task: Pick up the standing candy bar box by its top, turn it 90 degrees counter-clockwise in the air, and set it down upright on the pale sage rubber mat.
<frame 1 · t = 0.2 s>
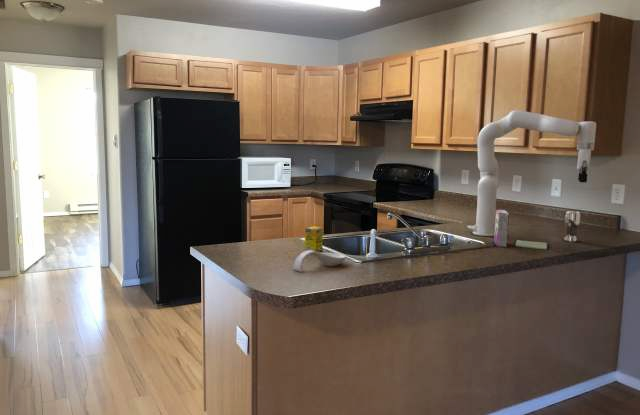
hand: (582, 181, 254), 31 cm above the counter, tool pointing down, fingers open, 9 cm apart
supplement box: (313, 252, 228), on the counter
candy bar box: (500, 245, 251), on the counter
mat: (531, 245, 251), on the counter
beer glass: (570, 241, 263), on the counter
spoon rest: (320, 267, 203), on the counter
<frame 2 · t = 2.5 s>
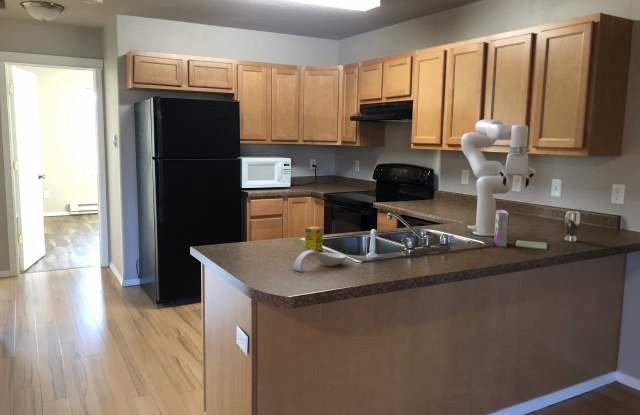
hand: (515, 186, 248), 29 cm above the counter, tool pointing down, fingers open, 9 cm apart
nothing on the counter moved.
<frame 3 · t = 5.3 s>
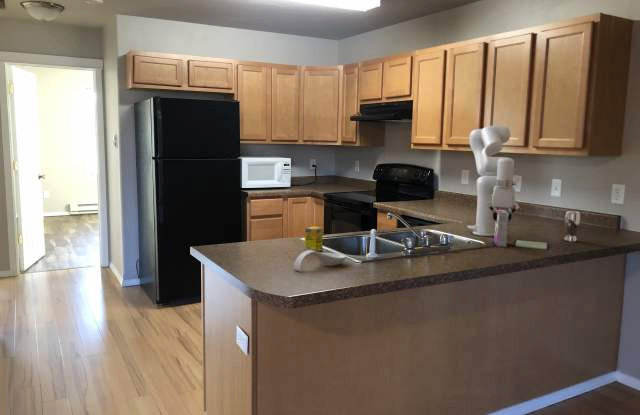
hand: (501, 220, 249), 12 cm above the counter, tool pointing down, fingers closed on candy bar box, 5 cm apart
candy bar box: (500, 245, 251), on the counter, touching gripper
everything else where it was.
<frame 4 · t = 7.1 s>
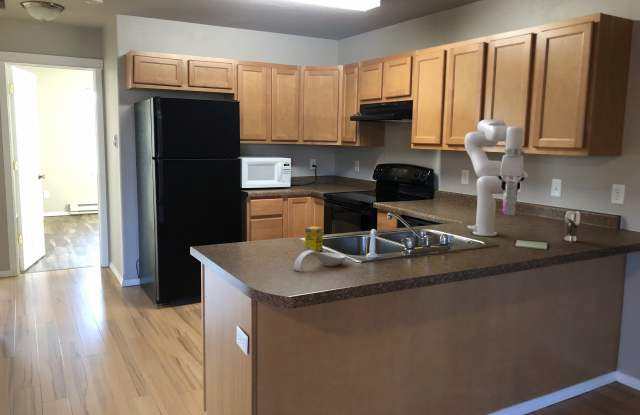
hand: (510, 189, 247), 27 cm above the counter, tool pointing down, fingers closed on candy bar box, 5 cm apart
candy bar box: (508, 214, 249), point 15 cm above the counter, touching gripper
everything else where it was.
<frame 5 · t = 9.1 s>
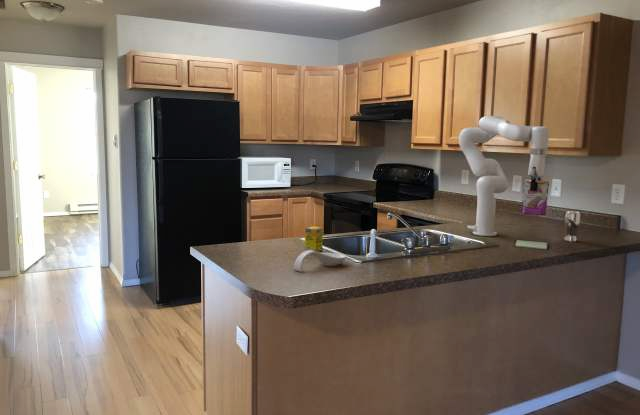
hand: (535, 189, 247), 27 cm above the counter, tool pointing down, fingers closed on candy bar box, 5 cm apart
candy bar box: (533, 214, 249), point 15 cm above the counter, touching gripper
everything else where it was.
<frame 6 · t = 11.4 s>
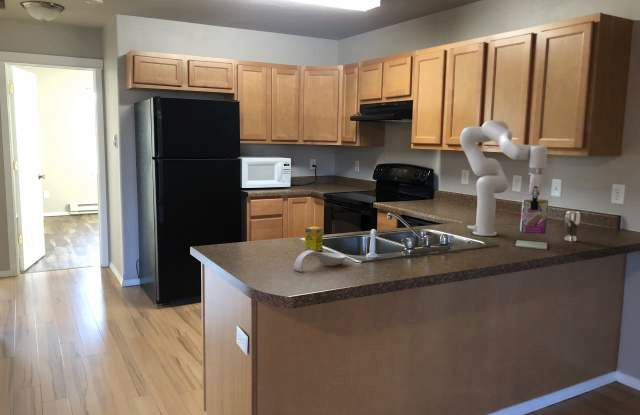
hand: (534, 208, 248), 18 cm above the counter, tool pointing down, fingers closed on candy bar box, 5 cm apart
candy bar box: (532, 233, 250), point 6 cm above the counter, touching gripper
everything else where it was.
when the fingers open (13 cm above the counter, at t = 13.2 s): candy bar box stays where it is, resting on mat.
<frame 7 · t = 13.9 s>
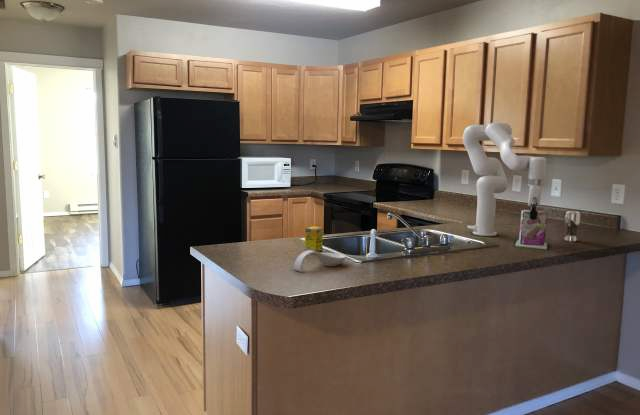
hand: (533, 217, 249), 14 cm above the counter, tool pointing down, fingers open, 9 cm apart
candy bar box: (531, 244, 251), resting on mat
everything else where it was.
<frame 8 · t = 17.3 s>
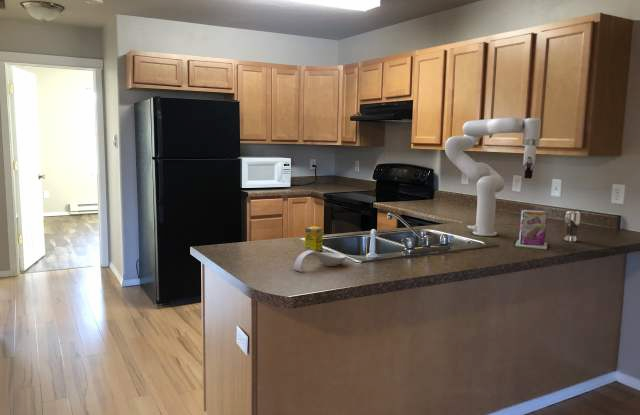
hand: (528, 177, 257), 32 cm above the counter, tool pointing down, fingers open, 9 cm apart
nothing on the counter moved.
at the end: candy bar box inside the target area on the mat (0.0 cm from its centre), point 0.4 cm above the mat's base; candy bar box tilted 0°; the gripper is holding nothing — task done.
